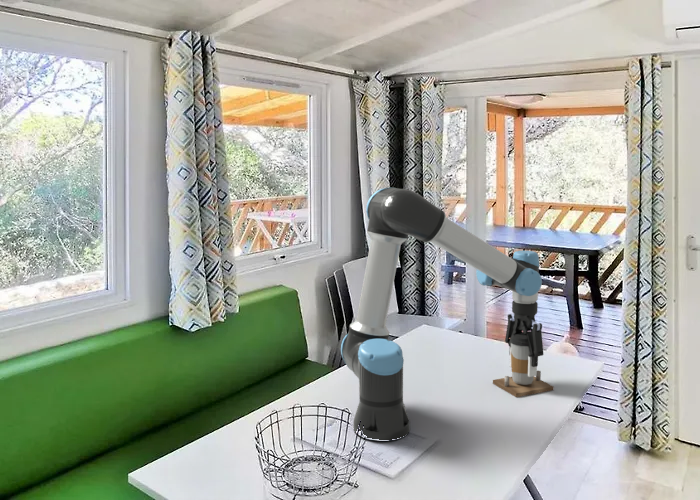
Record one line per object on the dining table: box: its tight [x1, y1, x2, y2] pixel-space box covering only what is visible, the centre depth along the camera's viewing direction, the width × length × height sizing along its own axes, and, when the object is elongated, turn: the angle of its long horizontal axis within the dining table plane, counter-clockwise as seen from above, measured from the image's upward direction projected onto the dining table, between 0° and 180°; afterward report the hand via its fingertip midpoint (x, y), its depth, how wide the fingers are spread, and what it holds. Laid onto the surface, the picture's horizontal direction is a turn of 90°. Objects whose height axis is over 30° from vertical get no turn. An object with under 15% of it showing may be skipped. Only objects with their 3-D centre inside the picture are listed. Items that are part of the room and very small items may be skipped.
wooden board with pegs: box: [492, 370, 555, 398], centre depth 181 cm, size 14×12×4 cm
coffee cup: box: [509, 331, 535, 385], centre depth 180 cm, size 8×8×15 cm
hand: (522, 371), depth 180 cm, fingers closed on coffee cup, 8 cm apart
